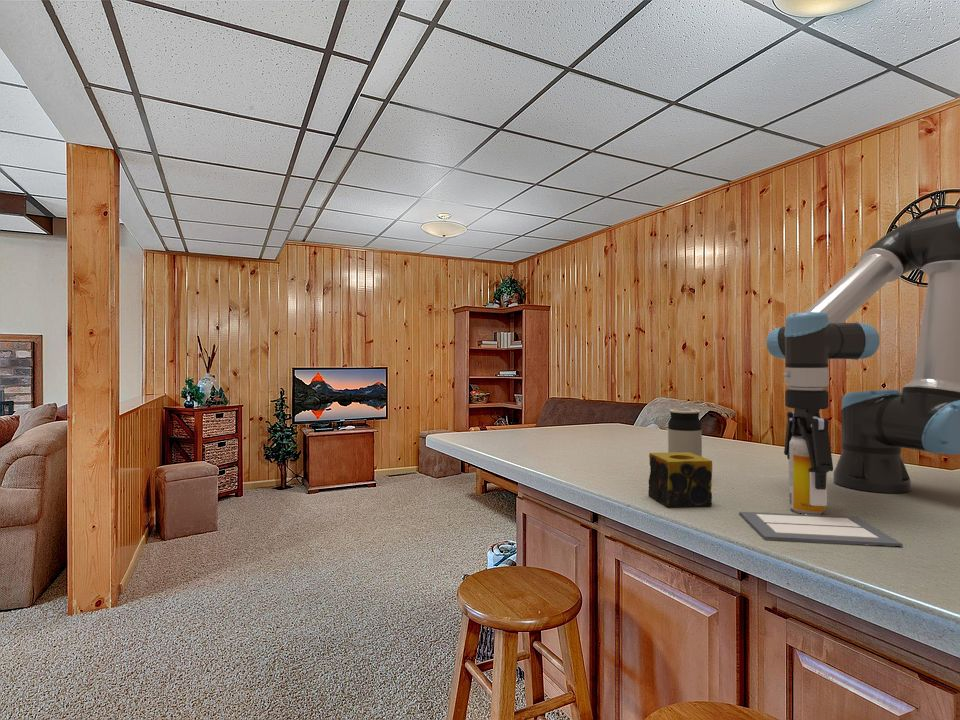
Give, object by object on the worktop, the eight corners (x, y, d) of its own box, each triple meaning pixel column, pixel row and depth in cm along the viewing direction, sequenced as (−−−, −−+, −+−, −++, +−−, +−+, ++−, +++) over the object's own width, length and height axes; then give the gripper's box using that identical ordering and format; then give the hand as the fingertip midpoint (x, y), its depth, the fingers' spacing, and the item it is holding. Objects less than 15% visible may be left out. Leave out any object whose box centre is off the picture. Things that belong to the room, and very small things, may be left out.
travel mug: (667, 482, 134) (667, 410, 134) (669, 475, 142) (668, 408, 142) (701, 484, 131) (701, 411, 131) (701, 478, 139) (701, 408, 139)
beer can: (830, 516, 105) (829, 440, 105) (796, 515, 106) (795, 439, 106) (817, 508, 111) (816, 436, 111) (785, 506, 112) (784, 435, 112)
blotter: (856, 519, 103) (856, 515, 103) (902, 547, 88) (902, 542, 88) (739, 514, 107) (739, 510, 107) (764, 539, 92) (764, 535, 92)
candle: (647, 496, 121) (647, 452, 121) (690, 495, 122) (690, 451, 122) (666, 508, 111) (666, 461, 111) (713, 507, 112) (713, 460, 112)
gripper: (767, 385, 120) (767, 484, 120) (809, 392, 98) (809, 513, 98) (803, 385, 119) (804, 485, 119) (855, 392, 96) (855, 515, 97)
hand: (806, 498), depth 108 cm, fingers open, 10 cm apart
